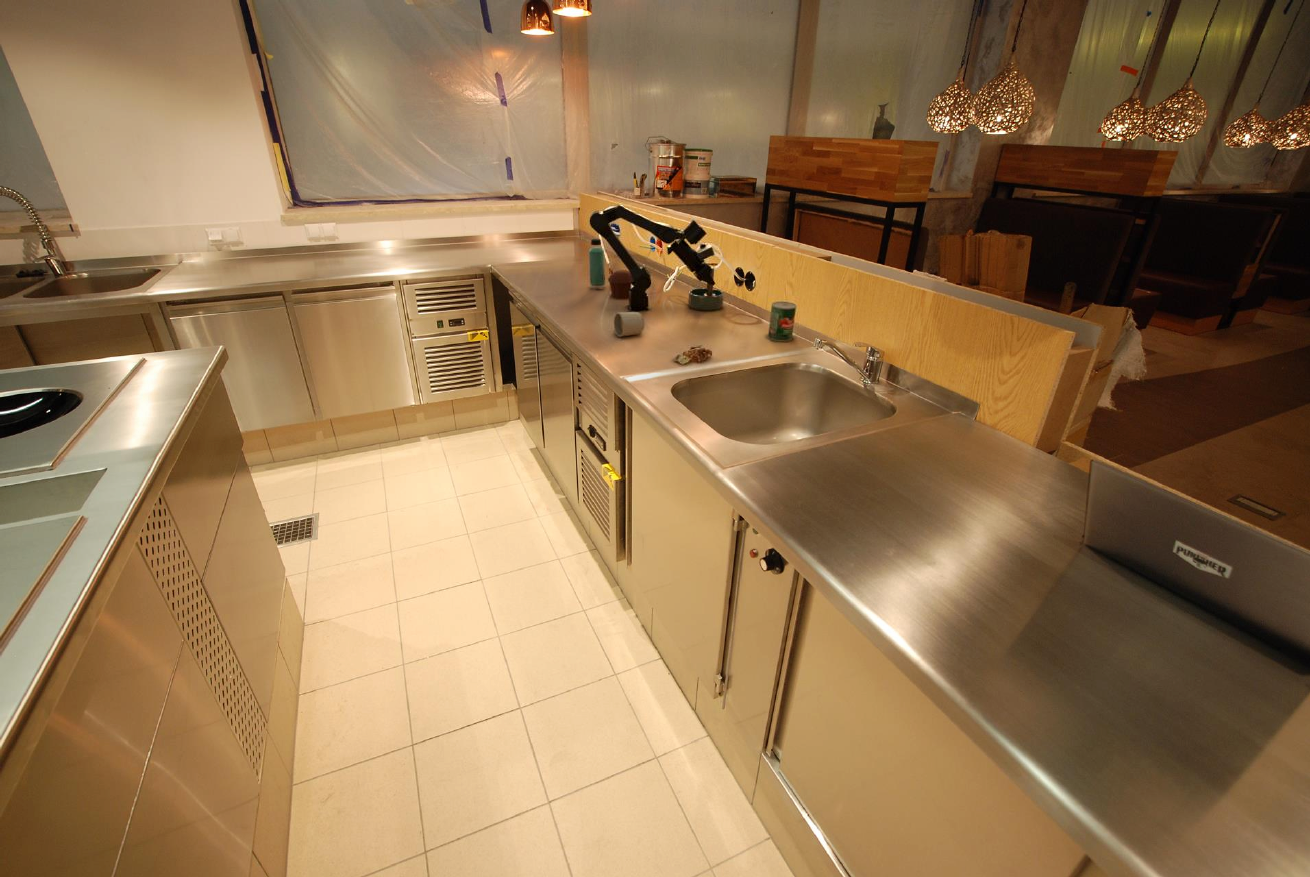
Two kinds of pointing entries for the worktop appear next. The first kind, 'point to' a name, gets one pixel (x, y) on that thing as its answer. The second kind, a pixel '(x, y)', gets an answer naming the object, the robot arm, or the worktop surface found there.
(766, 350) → the worktop surface
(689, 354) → the pastry
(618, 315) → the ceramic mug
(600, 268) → the beverage bottle
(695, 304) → the bowl
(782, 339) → the canned tomato
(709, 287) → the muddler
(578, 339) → the worktop surface
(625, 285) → the muffin
